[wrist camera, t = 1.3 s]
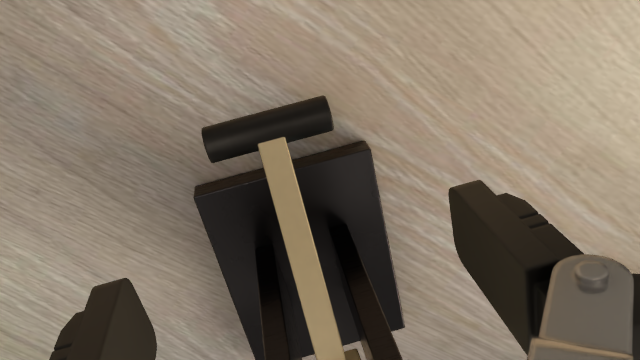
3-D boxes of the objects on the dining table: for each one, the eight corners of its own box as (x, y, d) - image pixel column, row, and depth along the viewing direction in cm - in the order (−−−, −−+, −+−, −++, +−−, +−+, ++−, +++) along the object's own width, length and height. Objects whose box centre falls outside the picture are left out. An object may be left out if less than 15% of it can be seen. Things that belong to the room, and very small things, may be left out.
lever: (207, 131, 22) (196, 123, 20) (322, 100, 22) (325, 89, 20) (290, 437, 22) (290, 467, 19) (406, 403, 22) (419, 428, 20)
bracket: (194, 186, 27) (174, 355, 16) (364, 140, 27) (453, 274, 17) (258, 355, 32) (274, 564, 22) (399, 314, 32) (482, 499, 22)
